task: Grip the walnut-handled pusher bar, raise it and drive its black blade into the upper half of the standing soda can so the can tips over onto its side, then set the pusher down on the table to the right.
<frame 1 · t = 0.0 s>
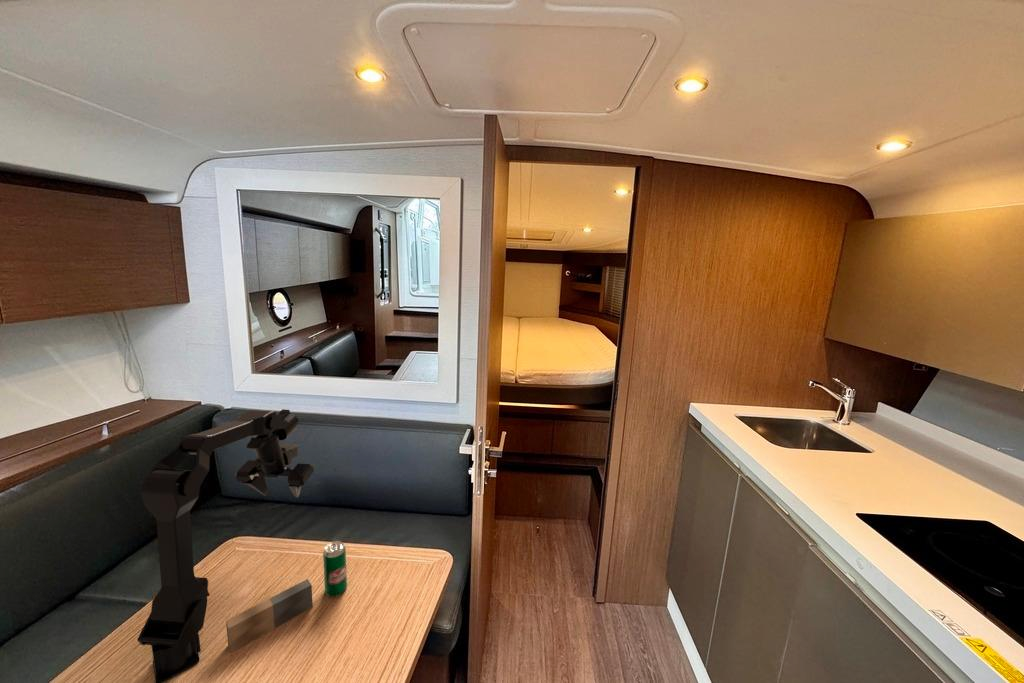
hand: (281, 495, 109), 15 cm above the table, tool pointing down, fingers open, 9 cm apart
pusher: (272, 624, 86), on the table
soda can: (336, 590, 96), on the table
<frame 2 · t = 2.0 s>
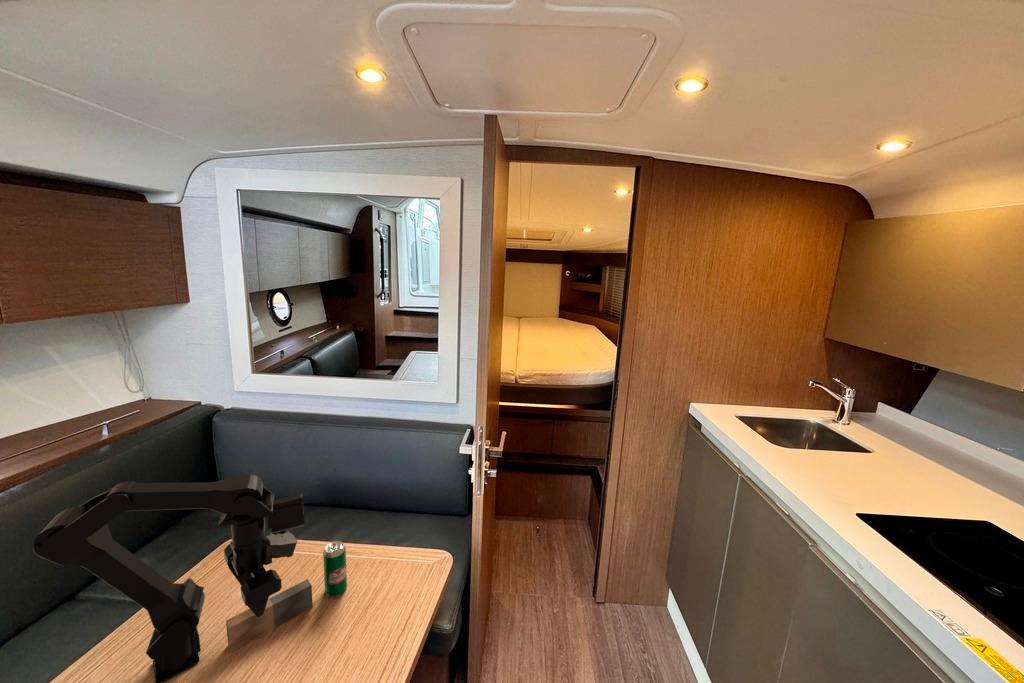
hand: (254, 602, 82), 8 cm above the table, tool pointing down, fingers open, 9 cm apart
nothing on the table moved.
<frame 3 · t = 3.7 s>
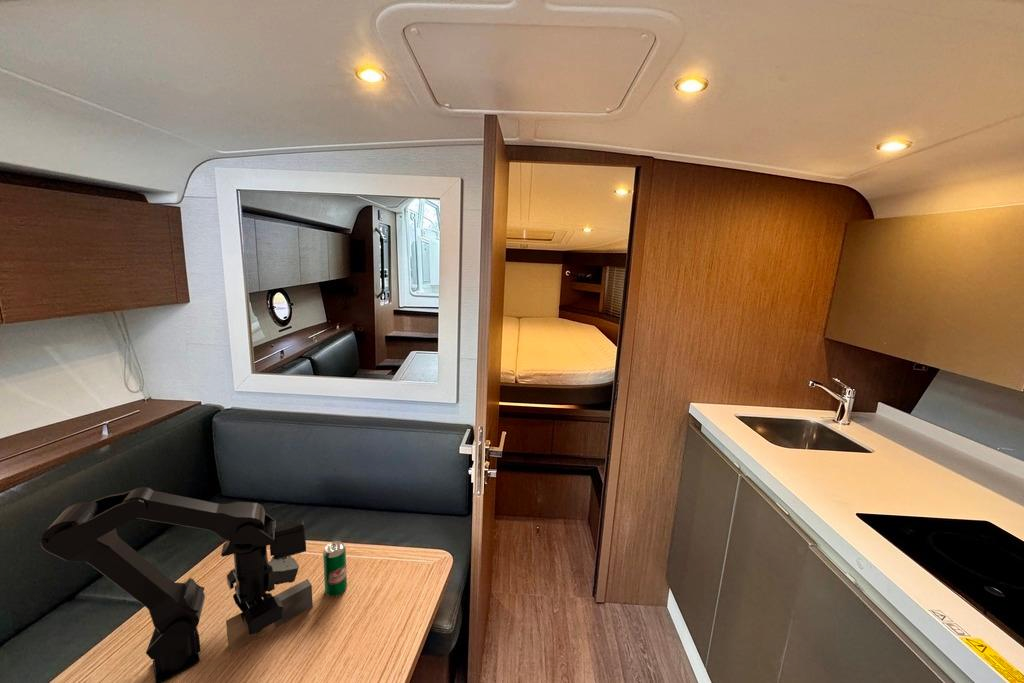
hand: (256, 627, 84), 2 cm above the table, tool pointing down, fingers closed on pusher, 2 cm apart
pusher: (273, 624, 86), on the table, touching gripper
everything else where it was.
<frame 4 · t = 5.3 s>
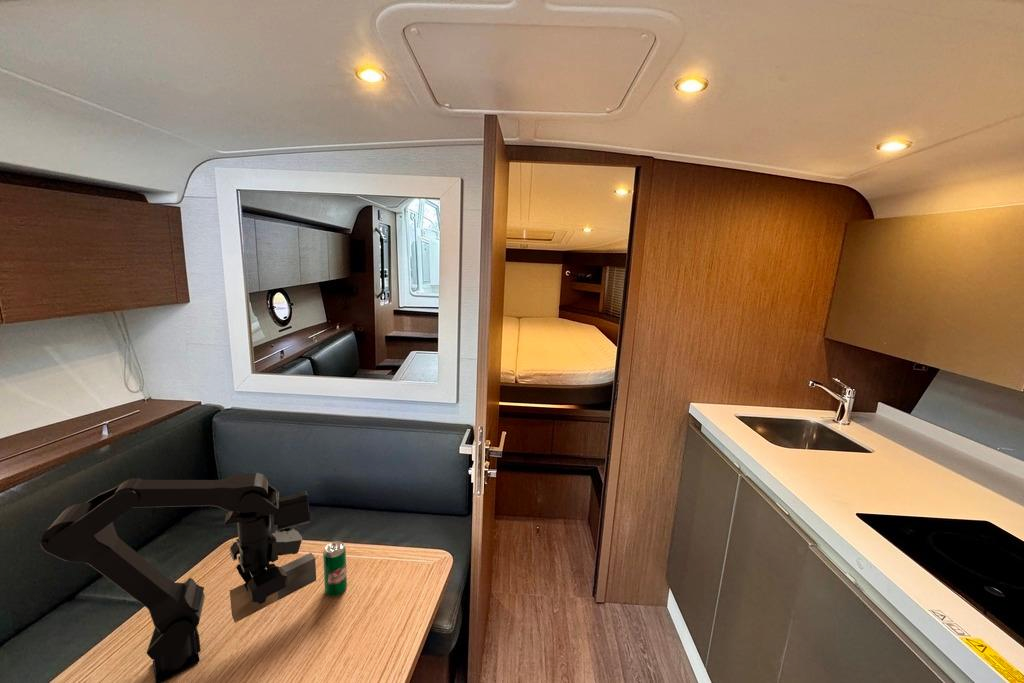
hand: (260, 598, 83), 8 cm above the table, tool pointing down, fingers closed on pusher, 2 cm apart
pusher: (276, 597, 86), point 6 cm above the table, touching gripper
everything else where it was.
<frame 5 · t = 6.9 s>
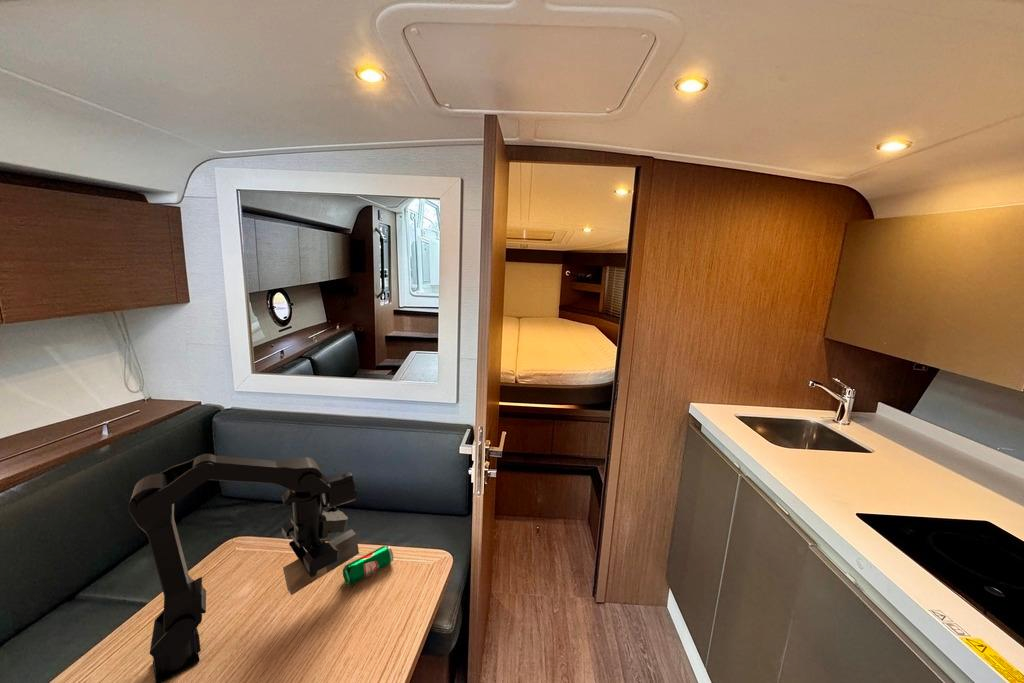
hand: (311, 573, 91), 8 cm above the table, tool pointing down, fingers closed on pusher, 2 cm apart
pusher: (325, 570, 93), point 7 cm above the table, tilted 6°, touching gripper
soda can: (345, 576, 97), point 3 cm above the table
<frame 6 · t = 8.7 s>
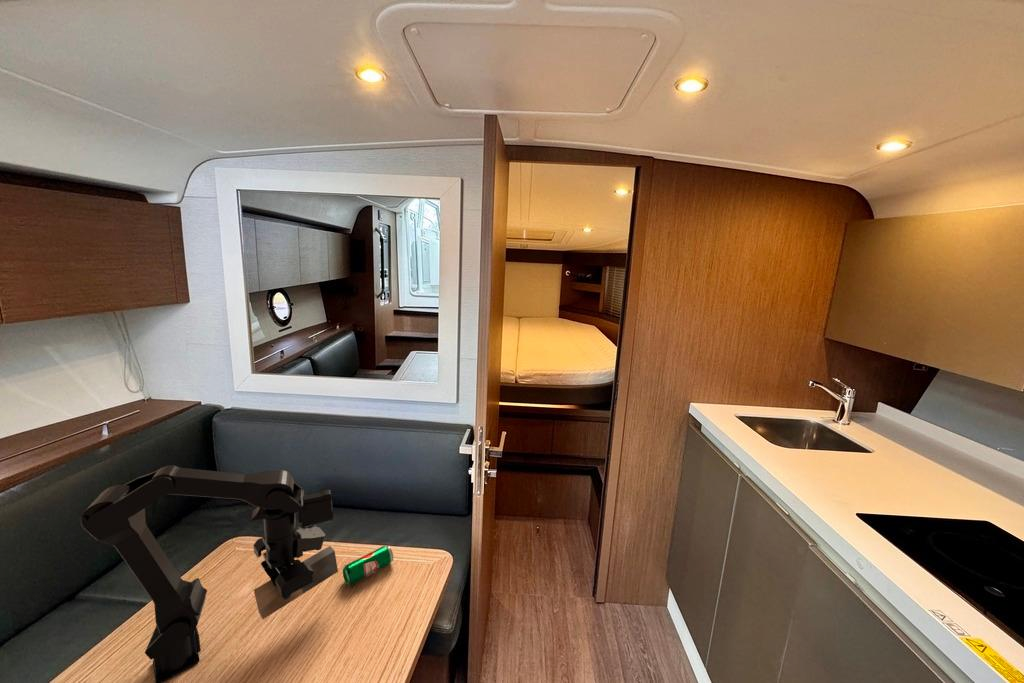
hand: (285, 594, 85), 8 cm above the table, tool pointing down, fingers closed on pusher, 2 cm apart
pusher: (300, 590, 87), point 7 cm above the table, tilted 6°, touching gripper
everything else where it was.
when the fingers open (3 cm above the table, at t = 10.4 s): pusher drops 2 cm, on the table.
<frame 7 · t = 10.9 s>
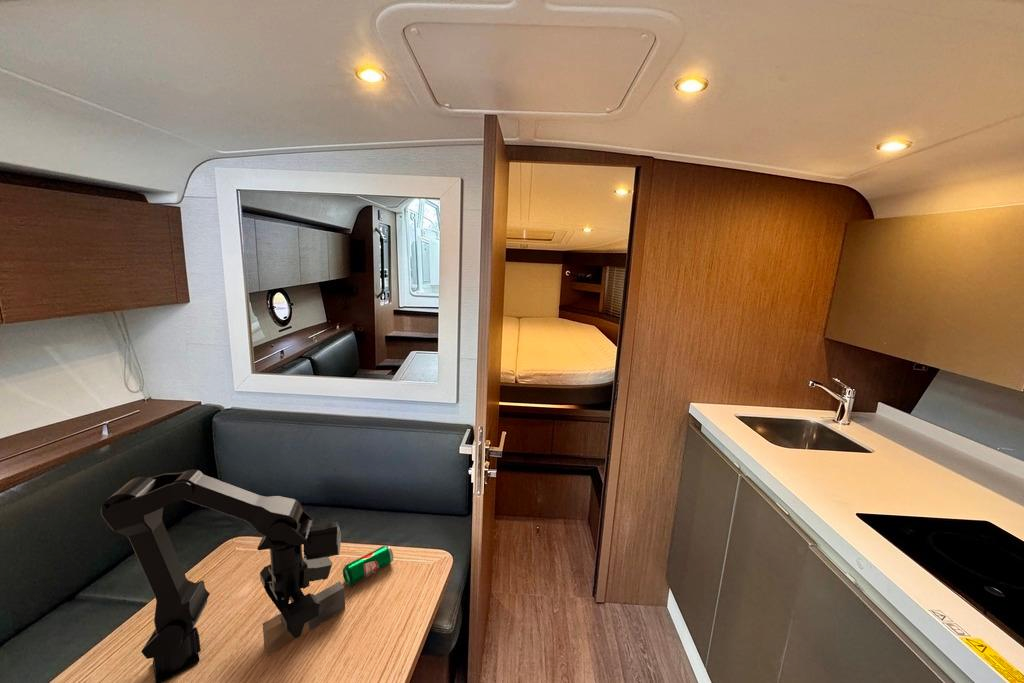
hand: (291, 624, 83), 3 cm above the table, tool pointing down, fingers open, 8 cm apart
pusher: (307, 627, 86), on the table
everything else where it was.
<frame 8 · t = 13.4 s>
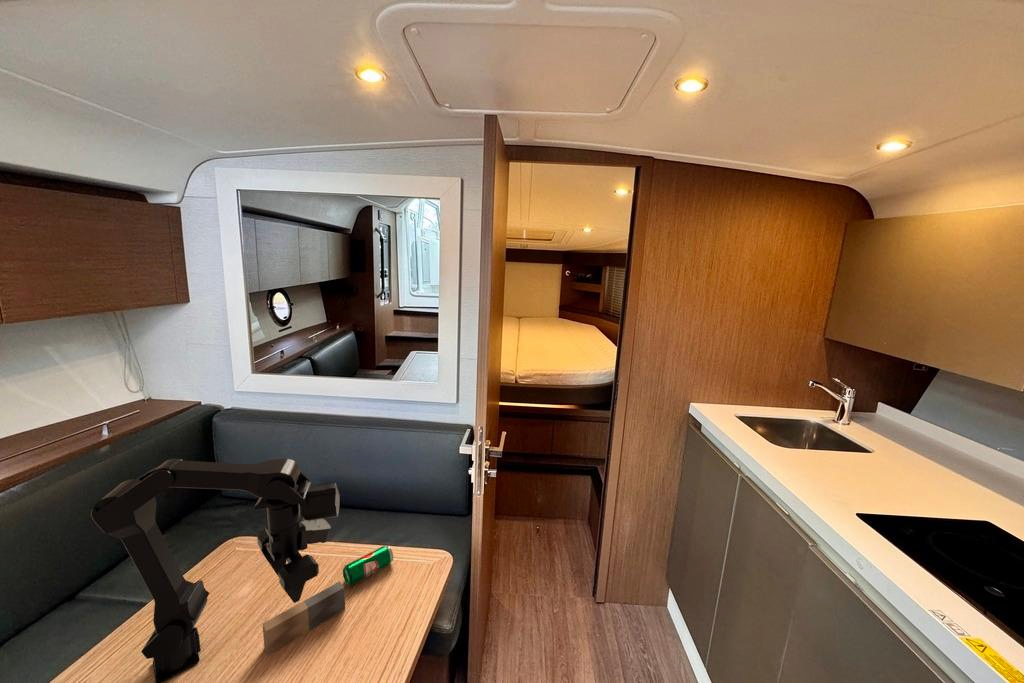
hand: (289, 588, 81), 12 cm above the table, tool pointing down, fingers open, 9 cm apart
nothing on the table moved.
at the end: soda can tilted 90°; pusher inside the target area (0.1 cm from its centre), on the table; the gripper is holding nothing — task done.
